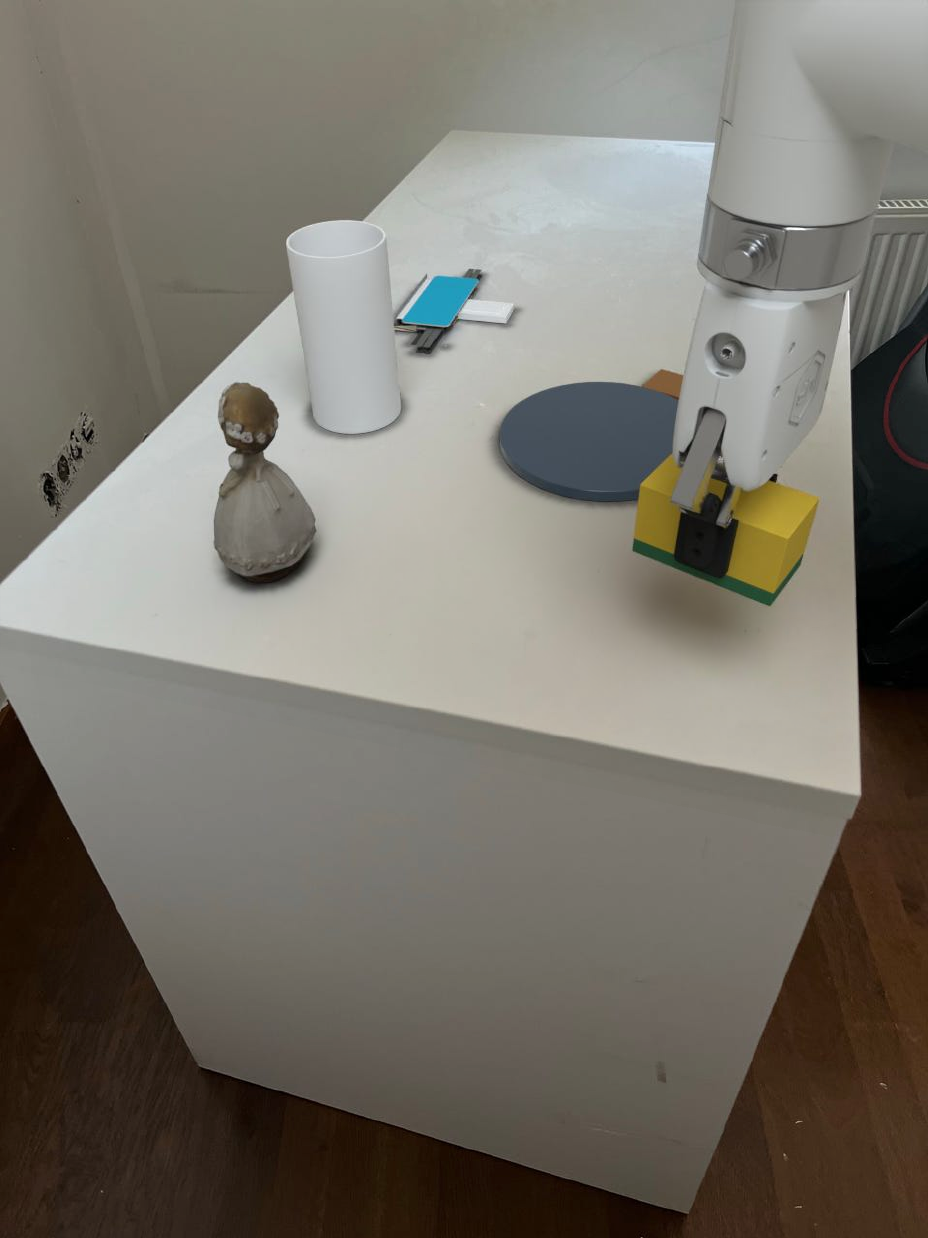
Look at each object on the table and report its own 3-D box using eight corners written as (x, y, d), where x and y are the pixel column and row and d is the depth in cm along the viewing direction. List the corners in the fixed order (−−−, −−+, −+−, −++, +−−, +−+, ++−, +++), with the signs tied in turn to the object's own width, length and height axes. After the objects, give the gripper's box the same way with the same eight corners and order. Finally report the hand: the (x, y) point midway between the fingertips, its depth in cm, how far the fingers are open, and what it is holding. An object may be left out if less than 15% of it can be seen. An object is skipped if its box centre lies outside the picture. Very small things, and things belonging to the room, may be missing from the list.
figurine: (250, 528, 75) (210, 354, 64) (331, 538, 73) (303, 361, 63) (209, 593, 69) (157, 413, 59) (296, 605, 68) (259, 423, 58)
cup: (397, 433, 84) (381, 256, 74) (307, 434, 85) (277, 259, 74) (404, 388, 91) (389, 218, 80) (319, 389, 91) (294, 220, 80)
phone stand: (485, 359, 94) (485, 344, 93) (374, 347, 97) (373, 332, 96) (531, 279, 108) (531, 265, 107) (433, 271, 111) (432, 257, 110)
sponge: (769, 607, 54) (788, 538, 50) (631, 551, 58) (639, 484, 54) (800, 565, 56) (820, 497, 53) (666, 514, 60) (676, 448, 57)
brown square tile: (679, 405, 87) (680, 397, 86) (640, 393, 88) (641, 385, 88) (698, 386, 89) (699, 379, 88) (660, 376, 91) (661, 368, 90)
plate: (707, 398, 87) (709, 388, 87) (705, 511, 74) (707, 500, 74) (517, 384, 90) (517, 375, 90) (482, 491, 77) (482, 481, 77)
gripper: (788, 326, 37) (715, 651, 50) (920, 199, 47) (832, 497, 60) (622, 283, 41) (593, 597, 53) (778, 173, 50) (722, 460, 63)
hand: (720, 541), depth 56 cm, fingers closed on sponge, 4 cm apart
